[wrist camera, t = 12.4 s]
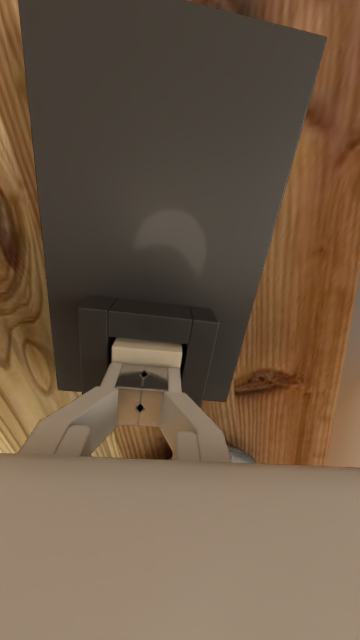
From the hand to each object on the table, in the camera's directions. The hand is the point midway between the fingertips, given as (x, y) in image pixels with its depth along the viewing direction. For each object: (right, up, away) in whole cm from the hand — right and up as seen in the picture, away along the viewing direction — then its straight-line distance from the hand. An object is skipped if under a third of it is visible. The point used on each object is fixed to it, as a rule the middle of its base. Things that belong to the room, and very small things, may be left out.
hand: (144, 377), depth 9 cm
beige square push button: (0, +1, +2) cm, 2 cm away
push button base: (0, +6, +2) cm, 7 cm away
